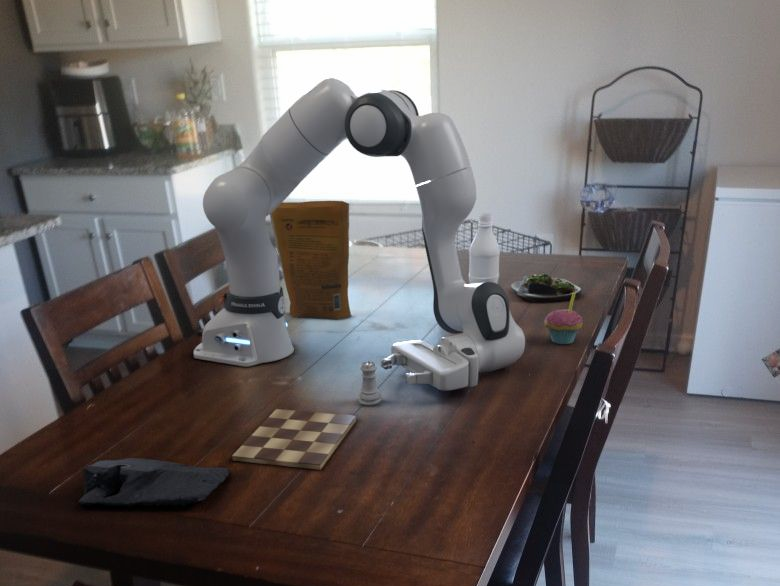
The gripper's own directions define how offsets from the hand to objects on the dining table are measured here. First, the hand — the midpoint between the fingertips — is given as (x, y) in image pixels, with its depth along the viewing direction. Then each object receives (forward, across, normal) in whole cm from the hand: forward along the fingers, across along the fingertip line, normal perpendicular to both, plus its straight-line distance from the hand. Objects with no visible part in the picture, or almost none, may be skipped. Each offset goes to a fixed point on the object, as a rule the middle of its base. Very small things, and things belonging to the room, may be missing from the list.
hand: (394, 372), depth 164 cm
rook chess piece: (+6, 0, +5) cm, 8 cm away
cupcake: (-47, -6, +5) cm, 48 cm away
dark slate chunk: (+52, +12, +5) cm, 53 cm away
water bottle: (-40, -27, +5) cm, 49 cm away
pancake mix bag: (-9, -54, +5) cm, 55 cm away
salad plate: (-67, -37, +5) cm, 77 cm away
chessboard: (+25, +8, +5) cm, 26 cm away
